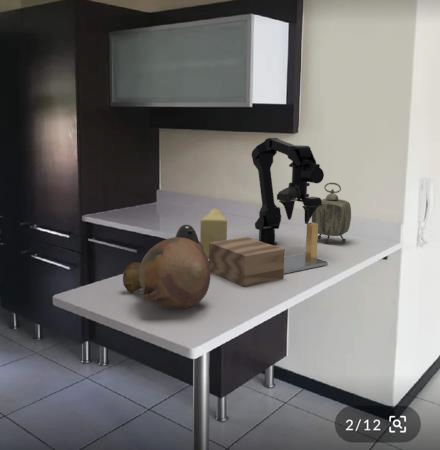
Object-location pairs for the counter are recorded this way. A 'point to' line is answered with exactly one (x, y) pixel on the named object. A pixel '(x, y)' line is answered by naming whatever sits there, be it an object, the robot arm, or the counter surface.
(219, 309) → the counter surface
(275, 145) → the robot arm
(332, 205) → the tabletop clock
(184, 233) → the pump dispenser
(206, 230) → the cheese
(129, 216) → the counter surface
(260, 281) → the brown wooden block
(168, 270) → the jug
